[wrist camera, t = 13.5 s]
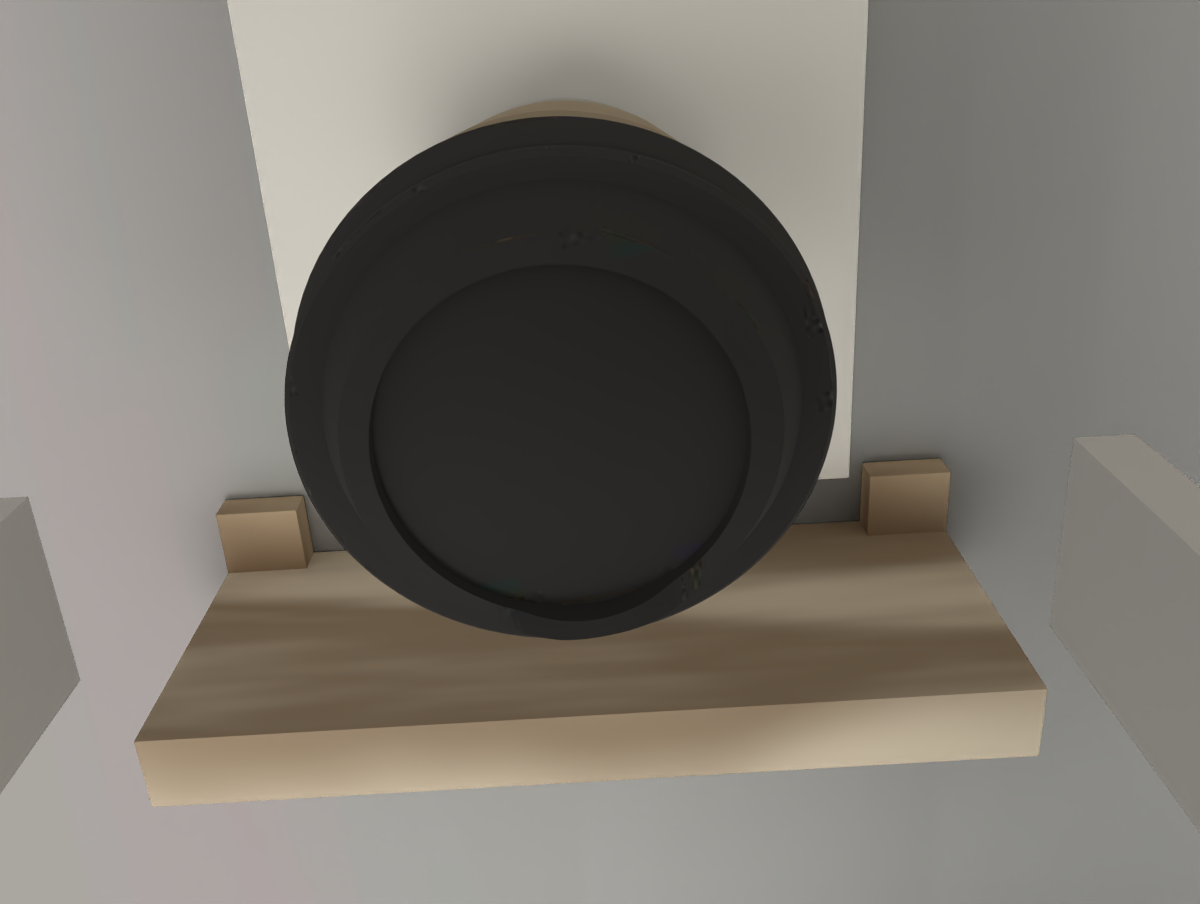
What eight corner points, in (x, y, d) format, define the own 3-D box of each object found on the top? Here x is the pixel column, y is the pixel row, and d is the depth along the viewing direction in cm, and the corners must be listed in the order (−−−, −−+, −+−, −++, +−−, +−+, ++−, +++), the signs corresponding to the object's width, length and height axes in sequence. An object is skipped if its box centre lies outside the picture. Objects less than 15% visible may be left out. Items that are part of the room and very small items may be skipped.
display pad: (842, 466, 34) (848, 477, 33) (323, 496, 34) (317, 508, 33) (865, -118, 28) (873, -120, 27) (222, -79, 28) (212, -80, 27)
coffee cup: (356, 92, 29) (157, 221, 15) (703, 14, 28) (827, 74, 14) (448, 411, 32) (356, 749, 19) (756, 348, 32) (895, 650, 18)
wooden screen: (927, 624, 36) (1030, 818, 28) (260, 662, 37) (169, 868, 28) (940, 458, 34) (1057, 618, 26) (225, 500, 34) (114, 673, 26)
